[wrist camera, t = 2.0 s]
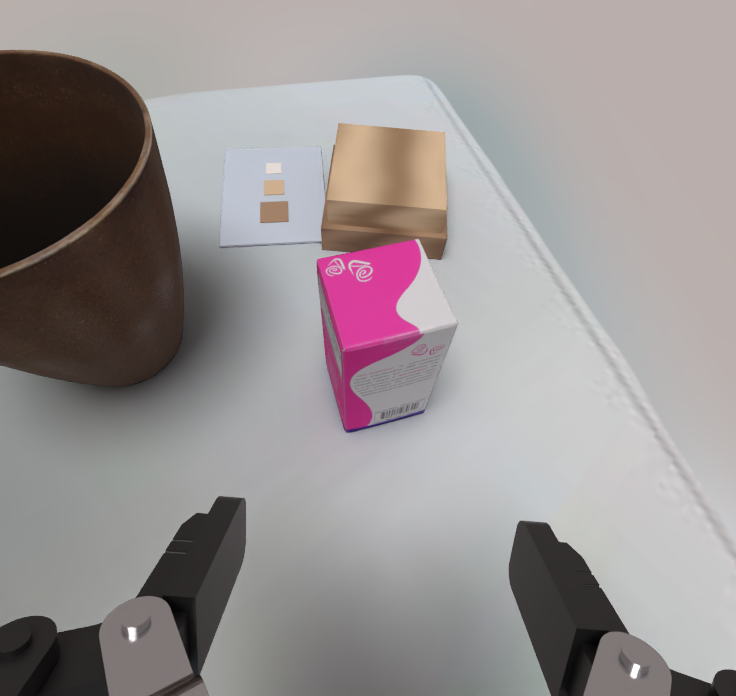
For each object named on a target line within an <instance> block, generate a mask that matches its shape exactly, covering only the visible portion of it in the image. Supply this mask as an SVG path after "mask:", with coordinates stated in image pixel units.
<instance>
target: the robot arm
mask: <svg viewBox="0 0 736 696" xmlns="http://www.w3.org/2000/svg"><path fill="white" fill-rule="evenodd" d="M245 545H246V501H245V499H244V498H235V497H223V496H219V497H218V498H217V499H216V501H215V502H214V504H213V506H212V508H211V510H210V511H209V513H208V514H203V513H196V514H195V515H194V516H192V517H191V518H190V519H188V520H187V521H186V522H185V523H183V524H182V525H181V527H180V528H179V530H178V532H177V533H176V535H175V536H174V538H173V541H171V543H170V544H169V546H168V547H167V549H166V552H165V553H164V554H163V555H162V557H161V559H160V560H159V562H158V563H157V565H156V567H155V568H154V570H153V571H152V573H151V575H150V576H149V578H148V579H147V581H146V582H145V584H144V586H143V587H142V589H141V590H140V592H139V594H138V595H137V597H136V598H134V599H131V600H129V601H127V602H124V603H123V604H121V605H119V606H118V607H117V608H115V609H114V610H113V611H112V612H111V613H110V614H109V615H108V616H107V617H106V618H105V620H104V621H103V622H102V623H100V624H97V625H93V626H89V627H84V628H79V629H74V630H69V631H64V632H59V633H57V628H56V625H55V623H54V622H53V621H52V620H51V619H49V618H47V617H44V616H29V617H24V618H20V619H17V620H15V621H12V622H10V623H8V624H5V625H3V626H2V627H0V696H209V695H208V692H207V689H206V686H205V684H204V681H203V679H202V677H201V676H200V673H201V670H202V667H203V665H204V662H205V659H206V657H207V654H208V652H209V649H210V646H211V644H212V641H213V639H214V636H215V633H216V631H217V628H218V625H219V623H220V620H221V618H222V615H223V612H224V610H225V607H226V605H227V602H228V599H229V597H230V594H231V591H232V589H233V586H234V584H235V581H236V578H237V576H238V573H239V571H240V568H241V565H242V562H243V558H244V553H245ZM509 580H510V585H511V588H512V591H513V594H514V597H515V599H516V602H517V605H518V607H519V610H520V613H521V615H522V618H523V621H524V623H525V626H526V629H527V632H528V634H529V637H530V640H531V642H532V645H533V648H534V650H535V653H536V656H537V659H538V661H539V664H540V667H541V669H542V672H543V675H544V677H545V680H546V683H547V686H548V688H549V691H550V694H551V696H736V671H735V670H721V671H719V672H717V673H716V675H715V677H714V679H713V682H712V684H710V683H707V682H704V681H701V680H699V679H696V678H693V677H690V676H687V675H684V674H681V673H679V672H676V671H674V670H671V669H669V667H668V665H667V664H666V662H665V661H664V659H663V658H662V657H661V656H660V654H659V653H658V652H657V651H656V650H654V649H653V648H652V647H651V646H650V645H648V644H647V643H646V642H644V641H642V640H641V639H639V638H637V637H635V636H633V635H630V634H629V633H628V631H627V629H626V628H625V626H624V624H623V623H622V621H621V620H620V618H619V616H618V615H617V613H616V611H615V610H614V608H613V606H612V605H611V603H610V602H609V600H608V598H607V597H606V595H605V593H604V592H603V590H602V589H601V588H599V584H598V582H597V580H596V579H595V577H594V576H593V575H592V574H591V571H590V569H589V567H588V566H587V564H586V562H585V561H584V559H583V558H582V556H581V555H580V554H578V553H577V552H576V551H575V550H574V549H573V548H572V547H571V546H570V545H568V544H567V543H563V542H558V540H557V538H556V536H555V535H554V533H553V531H552V529H551V528H550V526H549V525H548V524H547V523H544V522H531V521H520V522H519V523H518V525H517V529H516V534H515V538H514V543H513V548H512V553H511V558H510V562H509Z"/></svg>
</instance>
